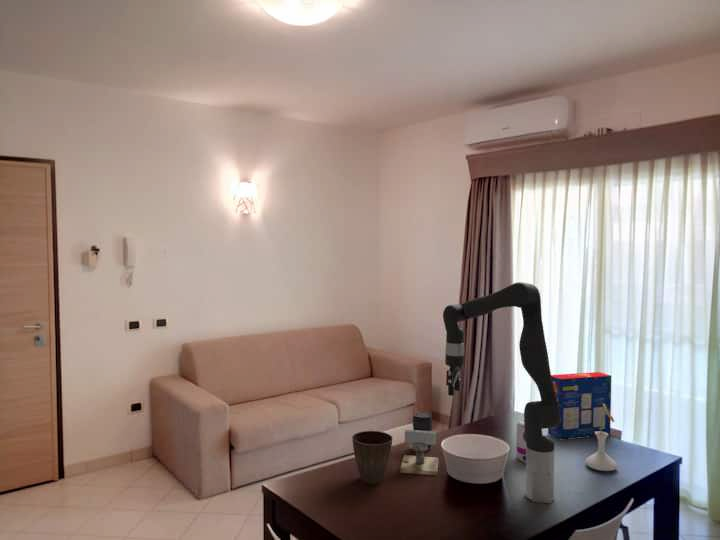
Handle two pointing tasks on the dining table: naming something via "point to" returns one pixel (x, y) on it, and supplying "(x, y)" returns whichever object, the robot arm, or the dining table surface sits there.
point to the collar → (420, 439)
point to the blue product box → (582, 404)
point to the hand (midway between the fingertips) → (454, 392)
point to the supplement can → (521, 441)
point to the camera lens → (422, 423)
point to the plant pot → (372, 454)
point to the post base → (419, 464)
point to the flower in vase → (602, 450)
